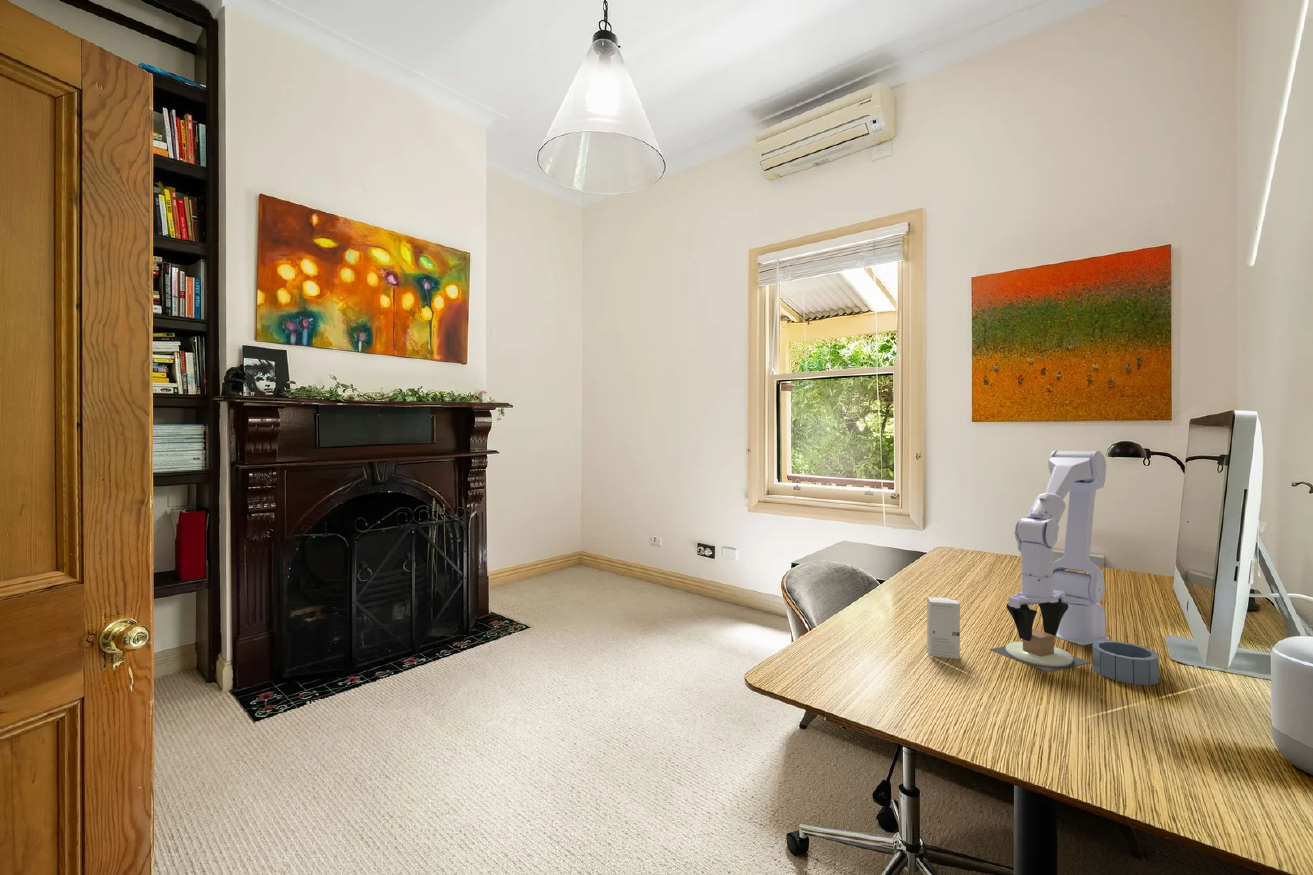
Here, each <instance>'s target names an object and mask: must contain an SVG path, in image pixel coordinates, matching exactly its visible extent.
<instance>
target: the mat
mask: <svg viewBox="0 0 1313 875" xmlns="http://www.w3.org/2000/svg"><path fill="white" fill-rule="evenodd" d="M988 650H989V651H990V652H991V651H992V652H994V653H997V654H998V655H1002V656H1005V657H1007V658H1008V659H1009V658H1010V659H1012V660H1013V661H1014V660H1015V661H1016V662H1019V663H1022V664H1024V665H1027V666H1029V667H1033V668H1035V669H1037V670H1039V671H1042V672H1043V673H1050V672H1055V671H1060V670H1065V669H1068V668H1074V667H1078V666H1082V665H1087V664H1091V663H1092V662H1091V661H1088V660H1087V659H1082V658H1079V657H1077V656H1073V655H1072V657H1073V663H1072V664H1071V665H1069V666H1065V667H1047V666H1040V665H1034V664H1030V663H1026V662H1023V661H1020V660H1018V659H1015V658H1013V657H1011V656H1010V655H1008V654H1007V653H1006V645H1004V646H999V647H994V648H989V649H988Z"/></svg>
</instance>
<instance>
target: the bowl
mask: <svg viewBox="0 0 1313 875" xmlns="http://www.w3.org/2000/svg"><path fill="white" fill-rule="evenodd" d="M1091 647H1092V649H1091V650H1092V652H1091V654H1092V670H1093V671H1094V672H1096V673H1097V674H1099V675H1100V676H1103V677H1105V678H1108V679H1110V680H1113V681H1116V682H1121V683H1124V684H1131V685H1136V686H1137V685H1141V686H1142V685H1143V686H1152V685H1157V684H1159V683H1160V670H1159V669H1160V666H1159V664H1160V661H1159V658H1160V657H1159V653H1157V652H1156V651H1154V650H1153V649H1150V648H1148V647H1145V646H1143V645H1138V644H1135V643H1130V642H1124V641H1120V640H1119V641H1118V640H1107V641H1106V640H1101V641H1096V642H1093V644H1092V646H1091Z"/></svg>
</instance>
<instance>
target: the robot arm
mask: <svg viewBox="0 0 1313 875" xmlns="http://www.w3.org/2000/svg"><path fill="white" fill-rule="evenodd" d="M1047 462H1048V463H1047V466H1048V467H1047V468H1048V470H1049V473H1050V477H1049V480H1048V483H1047V486H1046V489H1045V491H1044V493H1040V494H1038V495H1037V496H1036V497H1035V499H1034V501H1033V502H1032V505H1031V507H1030V509H1029V511H1028V513H1027V515H1026V516H1025V517H1023V518H1021V519H1019V520H1017V522H1016V524H1015V529H1014V537H1015V541H1016V543H1017V550H1018V551H1019V552H1020V579H1021V580H1020V587H1021V590H1020V591H1019V592H1018V593H1016V594H1014V595H1011V596H1008V603H1006V609H1007V611H1008V613H1009V614H1010V615H1011V617H1012V619H1013V621H1014V623H1015V627H1016V630H1017V634H1018V636H1019V639H1022V640H1023V639H1024V640H1027V641H1031V638H1032V630H1033V626H1034V620H1035V618H1036V615H1037V613H1038V611H1037V610H1034V609H1032V608H1030V606H1033V605H1037V604H1038V606H1039V609H1040V612H1041V617H1042V627H1043V632H1045V633H1048V634H1051V635H1054V638H1058V639H1060V640H1064V641H1067V642H1070V643H1074V644H1076V645H1079V646H1086V645H1091V644H1092V645H1093V642H1096V641H1101V640H1106V641H1111V640H1110V637H1108V636H1106V612H1105V609H1104V607H1103V605H1102V604H1101V603H1100V602H1101V601H1102V600H1103V599H1104V596H1105V592H1106V591H1105V586H1106V585H1105V582H1104V572H1103V570H1102V569H1101V568H1100V567H1099V566H1098V565H1096V564H1095V563H1094V562H1093V561H1092V560H1091V559H1090V558H1091V557H1090V556H1091V547H1092V546H1091V545H1092V531H1093V522H1094V511H1095V509H1094V508H1095V502H1096V501H1095V498H1096V494H1097V490H1100V489H1102V488H1105V487H1104V486H1105V483H1106V474H1107V462H1106V458H1105V455H1104V454H1103V453H1102V452H1101V451H1100V450H1092V451H1091V450H1088V451H1084V450H1083V451H1081V450H1077V451H1075V450H1053V451H1052V452H1050V454H1049V457H1048V461H1047ZM1068 493H1069V497H1068V508H1067V505H1066V502H1065V500H1064V499H1065V498H1066V496H1067V495H1068ZM1066 508H1067V518H1066V528H1065V538H1064V539H1065V540H1064V550H1063V556H1062V557H1059V558H1058V559H1056V560H1053V558H1054V557H1053V554H1054V553H1053V551H1054V550H1053V547H1055V545H1056V543H1057V542H1058V537H1059V530H1060V525H1059V523H1060V520H1061V519H1062V517H1063V514H1064V513H1065V510H1066ZM1070 570H1072V571H1070ZM1076 571H1077V572H1076ZM1082 572H1083V573H1082Z"/></svg>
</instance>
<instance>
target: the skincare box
mask: <svg viewBox="0 0 1313 875" xmlns="http://www.w3.org/2000/svg"><path fill="white" fill-rule="evenodd" d="M926 603H927V604H926V605H927V606H926V635H927V636H926V640H927V641H926V646H927V647H926V649H927V652H928V654H929V656H930V657H934V658H935V657H938V658H945V659H947V658H948V659H959V660H960V658H961V653H960V650H961V637H960V636H961V634H960V633H961V630H960V629H961V627H960V626H961V621H960V620H961V618H960V617H961V605H960V603H959V601H958V600H957V599H956V598H948V597H935V596H927V597H926Z"/></svg>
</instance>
